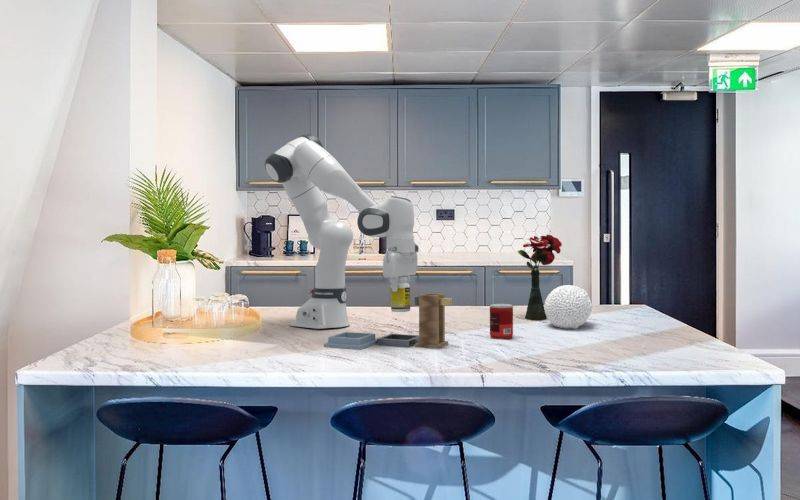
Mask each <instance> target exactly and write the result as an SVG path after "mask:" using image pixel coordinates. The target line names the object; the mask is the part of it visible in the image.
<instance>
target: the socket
mask: <svg viewBox="0 0 800 500" xmlns="http://www.w3.org/2000/svg"><path fill="white" fill-rule="evenodd" d="M376 340H377V344H376V345H377V346H386V347H387V346H388V347H399V348H400V347H401V348H411V347H413V346H415V344H416V343H418V342H419V334H418V335H417V334H415V335H414V334H403V333H401V334H399V333H389V334H386V335H383V336H380V337H378V338H376Z"/></svg>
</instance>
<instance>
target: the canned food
mask: <svg viewBox="0 0 800 500" xmlns="http://www.w3.org/2000/svg"><path fill="white" fill-rule="evenodd" d="M513 335H514V306H513V304H509V303H494V304H492V303H491V304H490V305H489V337H490V338H491V339H496V340H508V339H512V338H513Z"/></svg>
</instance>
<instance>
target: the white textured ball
mask: <svg viewBox="0 0 800 500" xmlns="http://www.w3.org/2000/svg"><path fill="white" fill-rule="evenodd" d="M545 298H546V299H545V300H544V310H545V314H546V317H547V320H548V321H549V323H551V324H552V325H553V326H555V327H557V328H560V329H564V330H567V329H573V330H577V329H578V328H579V327H581V326H583V325H584V323H586V322H587V320H588V319H589V318H590V316H591V313H592V311H593V310H592V309H593V304H592V300H591V298H590V297H589V293H588V292H587V291H586V290H585V289H583V288H582V287H579V286H576V285H571V284H568V285H566V284H564V285H560V286H558V287H556V288H554V289H553V290H552V291H550V293H549V294H548V295H547V297H545Z"/></svg>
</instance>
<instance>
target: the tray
mask: <svg viewBox="0 0 800 500" xmlns="http://www.w3.org/2000/svg"><path fill="white" fill-rule="evenodd" d="M327 341H328V342H324V343H323V347H324V348H336V349H337V348H338V349H346V350H347V349H349V350H360V351H362V350H363V349H367V348H370V347H372V346H375V345H377V338H376V333H369V332H355V331H354V332H352V331H351V332H350V331H343V332H340V333H337V334H336V333H335V334H333V335H330V336H328V338H327Z"/></svg>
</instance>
